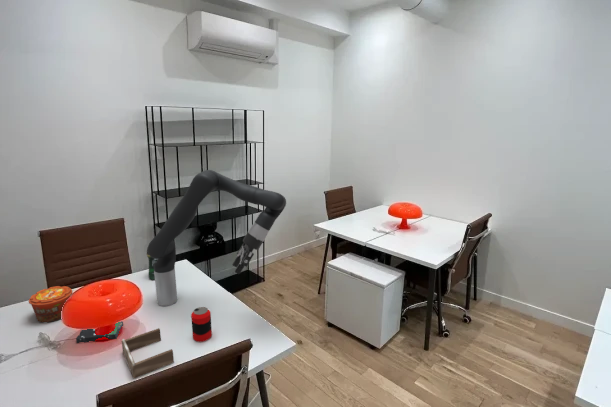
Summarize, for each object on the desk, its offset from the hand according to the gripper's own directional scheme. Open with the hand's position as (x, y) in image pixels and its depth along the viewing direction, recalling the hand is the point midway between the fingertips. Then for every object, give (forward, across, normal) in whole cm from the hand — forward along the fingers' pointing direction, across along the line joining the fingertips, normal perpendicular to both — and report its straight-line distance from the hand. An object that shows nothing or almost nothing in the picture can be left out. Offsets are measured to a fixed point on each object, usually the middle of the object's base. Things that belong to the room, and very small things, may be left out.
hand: (235, 269), depth 143 cm
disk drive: (+53, -16, -30) cm, 63 cm away
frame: (+43, +6, -13) cm, 45 cm away
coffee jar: (+39, -64, -18) cm, 77 cm away
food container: (+64, -37, -51) cm, 90 cm away
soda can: (+31, -1, +3) cm, 31 cm away
